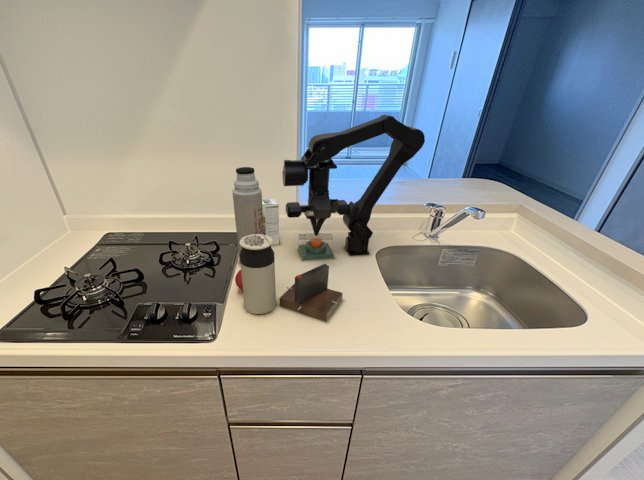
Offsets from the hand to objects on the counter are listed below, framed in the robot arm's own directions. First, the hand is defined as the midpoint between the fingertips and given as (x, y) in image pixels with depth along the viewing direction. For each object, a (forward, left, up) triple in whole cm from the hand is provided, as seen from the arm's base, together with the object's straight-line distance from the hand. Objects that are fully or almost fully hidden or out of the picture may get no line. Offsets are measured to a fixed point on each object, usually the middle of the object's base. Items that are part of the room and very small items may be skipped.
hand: (316, 235), depth 102 cm
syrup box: (+14, -11, -7) cm, 19 cm away
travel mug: (+20, +26, -7) cm, 33 cm away
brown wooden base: (+7, +27, -7) cm, 29 cm away
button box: (0, 0, -7) cm, 7 cm away
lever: (+7, +27, -4) cm, 28 cm away
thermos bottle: (+21, +2, -7) cm, 22 cm away
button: (0, 0, -3) cm, 3 cm away
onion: (+23, +19, -7) cm, 31 cm away
